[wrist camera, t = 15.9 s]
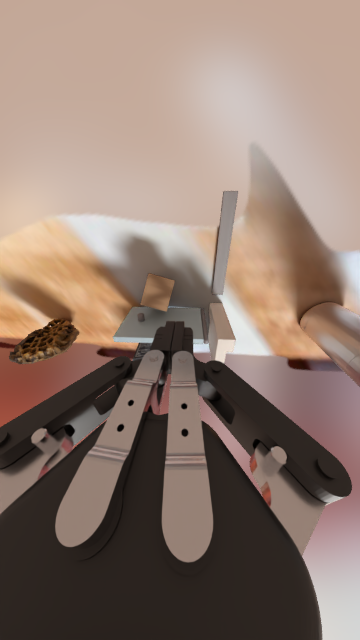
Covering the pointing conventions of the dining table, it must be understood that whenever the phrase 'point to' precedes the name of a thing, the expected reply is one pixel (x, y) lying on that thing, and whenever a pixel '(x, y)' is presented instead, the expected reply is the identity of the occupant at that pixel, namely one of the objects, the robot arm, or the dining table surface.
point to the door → (160, 324)
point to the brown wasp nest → (45, 342)
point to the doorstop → (157, 292)
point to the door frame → (222, 283)
